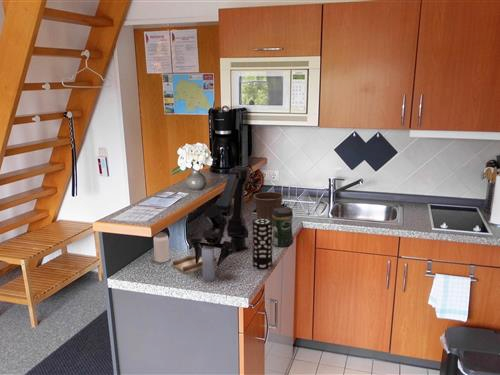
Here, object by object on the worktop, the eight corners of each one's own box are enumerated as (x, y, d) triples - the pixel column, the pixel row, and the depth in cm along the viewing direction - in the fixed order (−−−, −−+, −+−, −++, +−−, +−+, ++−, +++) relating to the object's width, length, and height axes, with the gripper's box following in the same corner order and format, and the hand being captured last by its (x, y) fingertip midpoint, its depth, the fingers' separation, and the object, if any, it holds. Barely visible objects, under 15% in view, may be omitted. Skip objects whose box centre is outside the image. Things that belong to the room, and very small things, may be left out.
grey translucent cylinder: (210, 274, 173) (209, 245, 170) (217, 278, 170) (216, 248, 167) (200, 278, 170) (199, 248, 167) (207, 282, 167) (206, 251, 164)
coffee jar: (287, 240, 211) (287, 204, 206) (295, 245, 204) (295, 208, 199) (270, 243, 207) (270, 206, 203) (277, 248, 200) (277, 211, 196)
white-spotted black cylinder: (248, 265, 182) (248, 221, 177) (262, 260, 187) (262, 217, 183) (262, 271, 176) (262, 225, 171) (276, 265, 182) (276, 221, 177)
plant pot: (272, 230, 226) (272, 201, 222) (248, 224, 235) (247, 196, 231) (288, 222, 238) (288, 194, 234) (264, 217, 248) (264, 190, 244)
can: (163, 256, 193) (161, 231, 190) (172, 259, 189) (171, 234, 186) (151, 260, 188) (150, 235, 185) (161, 264, 184) (159, 238, 181)
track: (202, 256, 192) (202, 251, 191) (217, 263, 184) (216, 258, 183) (172, 266, 182) (171, 260, 181) (185, 274, 174) (185, 268, 173)
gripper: (190, 218, 171) (178, 253, 164) (232, 222, 165) (222, 260, 157) (199, 230, 180) (188, 264, 173) (240, 235, 174) (230, 270, 167)
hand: (206, 264), depth 167 cm, fingers open, 9 cm apart
